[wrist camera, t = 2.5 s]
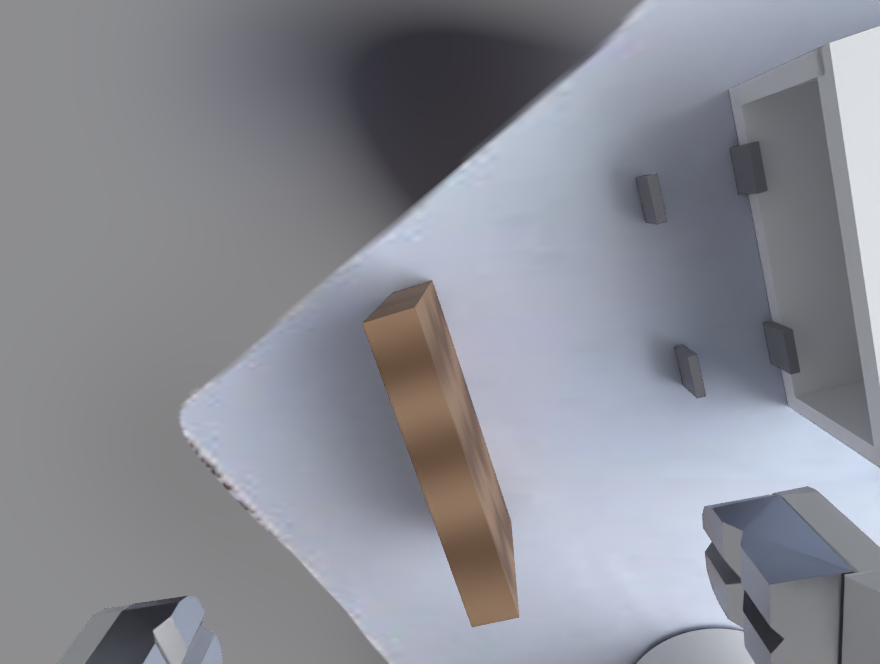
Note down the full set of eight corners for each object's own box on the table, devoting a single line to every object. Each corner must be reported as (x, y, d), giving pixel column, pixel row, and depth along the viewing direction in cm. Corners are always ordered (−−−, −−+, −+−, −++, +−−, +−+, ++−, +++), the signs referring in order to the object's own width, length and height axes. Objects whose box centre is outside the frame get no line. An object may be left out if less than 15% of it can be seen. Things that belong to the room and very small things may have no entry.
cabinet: (1006, 352, 36) (1201, 409, 26) (693, 429, 39) (763, 505, 29) (974, 6, 31) (1195, -82, 21) (623, 124, 34) (678, 94, 24)
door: (511, 521, 42) (519, 617, 32) (464, 531, 42) (459, 629, 33) (432, 280, 38) (414, 307, 28) (382, 295, 38) (348, 327, 29)
